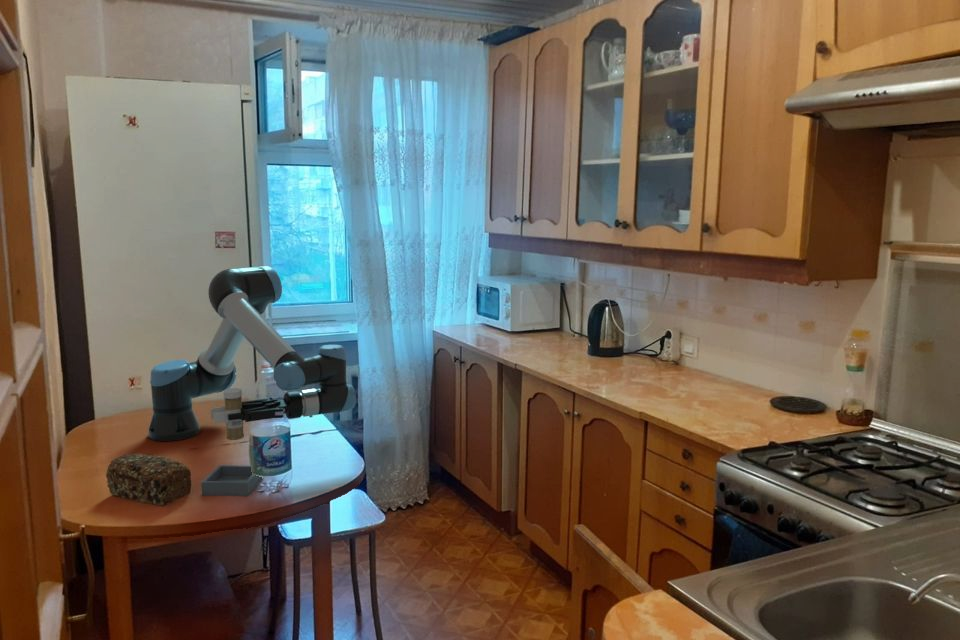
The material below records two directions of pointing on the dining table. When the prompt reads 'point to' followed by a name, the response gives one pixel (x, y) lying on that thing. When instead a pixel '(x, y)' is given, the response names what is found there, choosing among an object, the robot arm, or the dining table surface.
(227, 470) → the tray
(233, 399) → the sprinkles bottle
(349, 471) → the dining table surface
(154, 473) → the bread
